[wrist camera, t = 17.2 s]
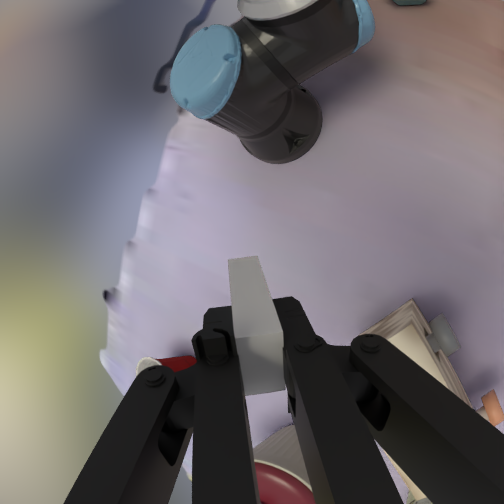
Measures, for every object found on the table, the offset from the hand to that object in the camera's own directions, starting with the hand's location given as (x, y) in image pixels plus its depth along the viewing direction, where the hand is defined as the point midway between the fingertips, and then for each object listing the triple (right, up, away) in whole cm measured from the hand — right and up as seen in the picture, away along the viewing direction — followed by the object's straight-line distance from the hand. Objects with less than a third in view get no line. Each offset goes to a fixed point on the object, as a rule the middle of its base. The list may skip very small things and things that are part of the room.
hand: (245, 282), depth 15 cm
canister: (+11, -35, +31) cm, 48 cm away
